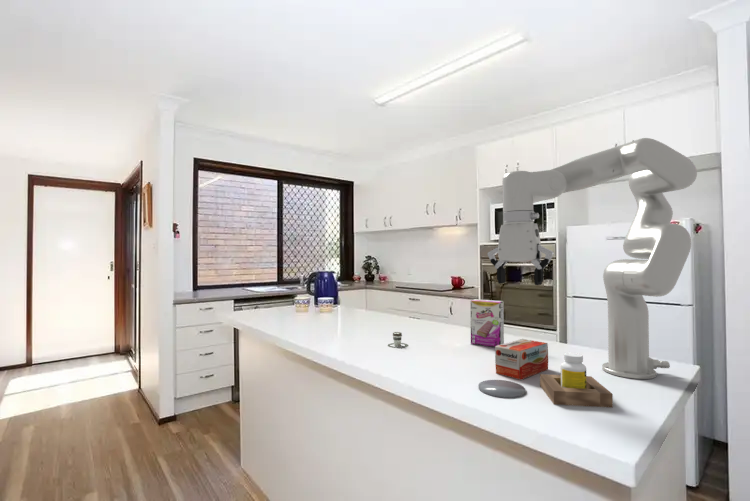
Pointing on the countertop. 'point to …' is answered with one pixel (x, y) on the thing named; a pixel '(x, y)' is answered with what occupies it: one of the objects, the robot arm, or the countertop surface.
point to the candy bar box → (487, 322)
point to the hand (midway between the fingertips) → (519, 283)
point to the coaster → (501, 388)
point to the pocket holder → (576, 392)
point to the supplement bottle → (573, 371)
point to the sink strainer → (397, 340)
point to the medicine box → (521, 358)
